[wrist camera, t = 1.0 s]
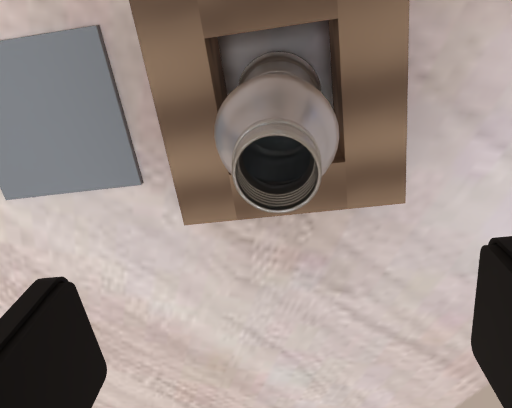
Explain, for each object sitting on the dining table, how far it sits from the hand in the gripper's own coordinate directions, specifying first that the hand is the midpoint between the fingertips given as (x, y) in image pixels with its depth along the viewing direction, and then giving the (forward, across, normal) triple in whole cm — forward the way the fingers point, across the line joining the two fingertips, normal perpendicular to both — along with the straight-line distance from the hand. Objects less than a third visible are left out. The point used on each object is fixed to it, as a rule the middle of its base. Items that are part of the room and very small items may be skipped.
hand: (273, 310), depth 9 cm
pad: (+28, +21, -1) cm, 35 cm away
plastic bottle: (+28, 0, -1) cm, 28 cm away
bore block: (+28, 0, -1) cm, 28 cm away
